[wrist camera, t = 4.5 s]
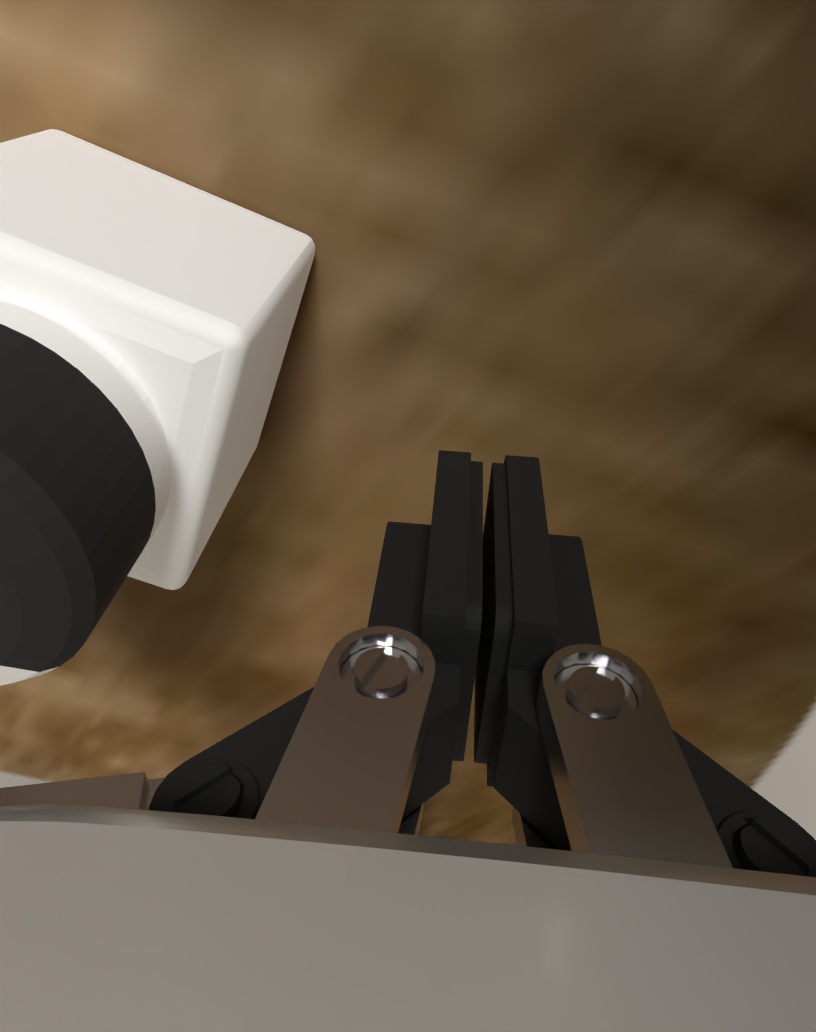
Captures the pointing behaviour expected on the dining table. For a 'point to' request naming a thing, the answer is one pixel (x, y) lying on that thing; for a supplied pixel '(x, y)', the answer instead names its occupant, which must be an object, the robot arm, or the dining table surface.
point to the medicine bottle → (123, 379)
